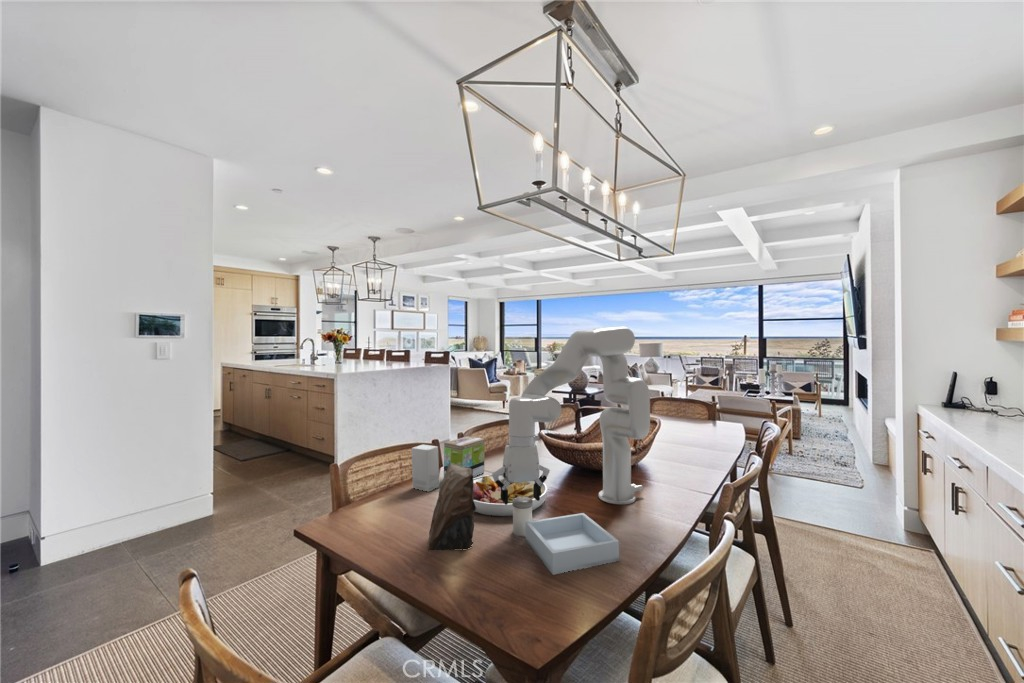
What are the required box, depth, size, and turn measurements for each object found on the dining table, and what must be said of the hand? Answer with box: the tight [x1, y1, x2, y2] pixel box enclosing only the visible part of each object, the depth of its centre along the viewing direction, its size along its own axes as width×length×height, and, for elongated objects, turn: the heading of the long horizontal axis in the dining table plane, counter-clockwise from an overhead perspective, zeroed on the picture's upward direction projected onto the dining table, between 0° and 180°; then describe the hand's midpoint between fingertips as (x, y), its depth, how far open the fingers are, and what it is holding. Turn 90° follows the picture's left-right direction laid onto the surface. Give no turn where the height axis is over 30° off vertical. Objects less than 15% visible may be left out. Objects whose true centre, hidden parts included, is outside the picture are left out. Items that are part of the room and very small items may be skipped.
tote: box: [525, 512, 620, 576], centre depth 107 cm, size 18×18×5 cm
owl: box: [427, 463, 476, 552], centre depth 112 cm, size 13×13×20 cm
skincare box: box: [411, 444, 440, 493], centre depth 154 cm, size 8×7×16 cm
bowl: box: [473, 474, 548, 517], centre depth 141 cm, size 30×30×8 cm
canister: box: [512, 497, 533, 537], centre depth 118 cm, size 6×6×9 cm
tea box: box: [443, 435, 486, 478], centre depth 168 cm, size 15×10×15 cm
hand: (520, 500), depth 117 cm, fingers open, 9 cm apart
